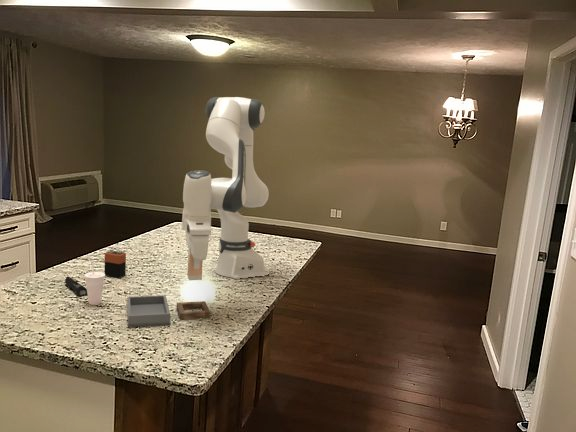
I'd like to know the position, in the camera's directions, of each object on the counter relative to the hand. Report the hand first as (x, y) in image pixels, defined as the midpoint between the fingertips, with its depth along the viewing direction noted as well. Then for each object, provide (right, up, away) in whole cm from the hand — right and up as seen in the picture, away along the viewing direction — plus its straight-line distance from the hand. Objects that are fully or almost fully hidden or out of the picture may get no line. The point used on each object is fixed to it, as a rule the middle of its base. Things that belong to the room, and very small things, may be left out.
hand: (195, 265), depth 154 cm
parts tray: (-14, -16, -2) cm, 21 cm away
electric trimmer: (-45, -10, +15) cm, 48 cm away
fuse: (0, -4, +1) cm, 4 cm away
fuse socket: (-1, -16, +3) cm, 16 cm away
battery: (-37, -7, +33) cm, 50 cm away
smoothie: (-34, -13, +5) cm, 36 cm away
